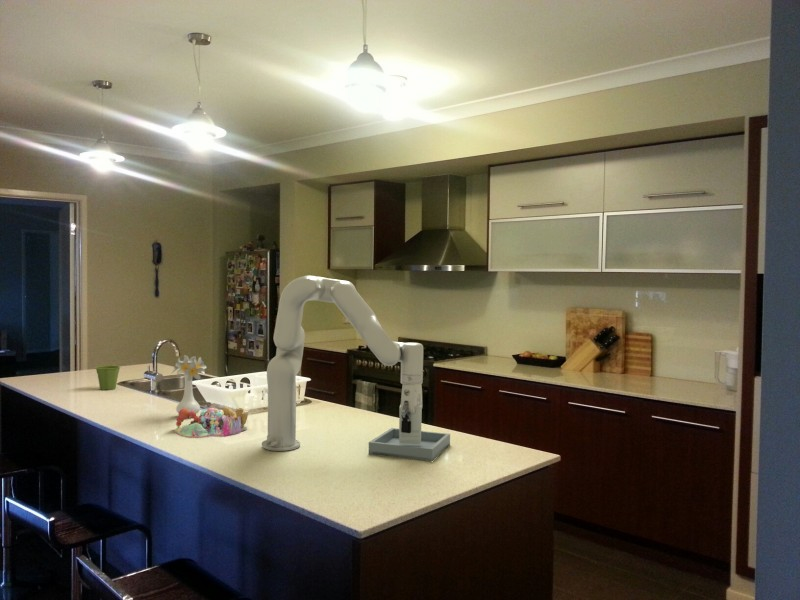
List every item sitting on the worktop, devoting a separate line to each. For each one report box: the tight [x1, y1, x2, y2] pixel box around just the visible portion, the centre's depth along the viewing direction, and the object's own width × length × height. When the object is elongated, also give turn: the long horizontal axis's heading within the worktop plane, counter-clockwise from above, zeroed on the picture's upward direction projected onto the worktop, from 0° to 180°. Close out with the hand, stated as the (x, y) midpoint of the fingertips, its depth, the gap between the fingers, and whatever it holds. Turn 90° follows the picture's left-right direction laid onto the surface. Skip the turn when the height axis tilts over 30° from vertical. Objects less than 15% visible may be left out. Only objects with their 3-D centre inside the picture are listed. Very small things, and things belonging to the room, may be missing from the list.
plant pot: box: [94, 365, 121, 391], centre depth 318 cm, size 12×12×11 cm
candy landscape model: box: [174, 406, 249, 439], centre depth 236 cm, size 25×24×9 cm
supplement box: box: [398, 403, 423, 444], centre depth 214 cm, size 7×7×13 cm
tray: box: [368, 427, 451, 462], centre depth 214 cm, size 22×22×4 cm
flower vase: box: [171, 354, 207, 419], centre depth 258 cm, size 13×18×25 cm
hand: (410, 429), depth 214 cm, fingers closed on supplement box, 8 cm apart
